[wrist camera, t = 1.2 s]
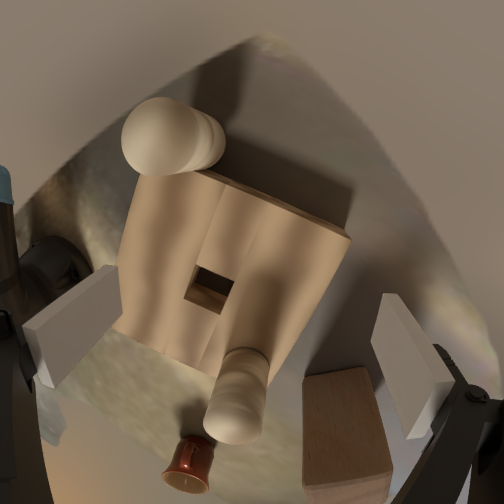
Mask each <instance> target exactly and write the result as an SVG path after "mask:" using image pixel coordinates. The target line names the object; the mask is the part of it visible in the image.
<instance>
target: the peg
mask: <svg viewBox="0 0 504 504" xmlns="http://www.w3.org/2000/svg"><path fill="white" fill-rule="evenodd" d="M121 143H122V150H123V153H124V156H125V158H126V160H127V161H128V163H129V164H130V165H131V167H132V168H134V169H135V170H136V171H137V172H139V173H141V174H143V175H146V176H150V177H161V176H166V175H172V174H177V173H182V172H188V171H194V170H202V169H206V168H209V167H211V166H213V165H214V164H215V163H216V162H218V161H219V159H220V158H221V157H222V155H223V153H224V151H225V148H226V133H225V130H224V128H223V126H222V125H221V123H220V122H219V121H218V120H217V119H215V118H214V117H212V116H210V115H207V114H205V113H203V112H200V111H198V110H196V109H194V108H192V107H190V106H187V105H185V104H183V103H181V102H179V101H176V100H174V99H171V98H167V97H156V98H152V99H149V100H146V101H144V102H142V103H141V104H139V105H138V106H137V107H136V108H135V109H134V110H133V111H132V112H131V113H130V115H129V116H128V118H127V120H126V122H125V124H124V127H123V130H122V137H121Z"/></svg>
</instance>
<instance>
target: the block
mask: <svg viewBox="0 0 504 504" xmlns="http://www.w3.org/2000/svg"><path fill="white" fill-rule="evenodd" d="M302 401H303V465H302V485H303V489H304V492H305V496H306V499H307V502H308V504H382V503H385V502H386V500H387V497H388V493H389V488H390V483H391V478H392V473H393V464H392V460H391V456H390V451H389V447H388V443H387V439H386V435H385V431H384V427H383V423H382V419H381V416H380V412H379V408H378V405H377V401H376V397H375V394H374V390H373V387H372V383H371V380H370V377H369V373H368V371H367V369H366V368H365V367H356V368H351V369H346V370H341V371H335V372H330V373H324V374H318V375H312V376H307V377H305V378H304V380H303V383H302Z"/></svg>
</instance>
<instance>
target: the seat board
mask: <svg viewBox="0 0 504 504" xmlns="http://www.w3.org/2000/svg"><path fill="white" fill-rule="evenodd" d="M351 242H352V240H351V239H350V237H349V236H348V234H347V233H346V232H345V230H344V229H342V228H340V227H338V226H335V225H333V224H331V223H329V222H327V221H325V220H323V219H321V218H318V217H316V216H314V215H312V214H310V213H308V212H305V211H303V210H301V209H299V208H297V207H294V206H292V205H290V204H288V203H285V202H283V201H281V200H279V199H276V198H274V197H272V196H269V195H267V194H265V193H263V192H260V191H258V190H256V189H253V188H251V187H248V186H246V185H244V184H241V183H239V182H237V181H234V180H232V179H229V178H227V177H224V176H222V175H220V174H217V173H215V172H212V171H210V170H207V169H202V170H194V171H188V172H182V173H177V174H172V175H166V176H161V177H150V176H146V175H143V174H141V173H140V176H139V180H138V183H137V186H136V189H135V193H134V196H133V199H132V203H131V206H130V210H129V213H128V217H127V221H126V224H125V228H124V232H123V236H122V240H121V244H120V248H119V252H118V257H117V261H116V265H115V266H118V274H119V284H120V294H121V302H122V310H123V314H122V315H121V316H120V317H119V318H118V320H117V321H116V322H115V323H114V324H113V325H112V326H111V328H113V329H115V330H117V331H118V332H120V333H122V334H124V335H126V336H128V337H130V338H132V339H134V340H135V341H137V342H139V343H141V344H143V345H145V346H147V347H149V348H151V349H153V350H155V351H158V352H160V353H162V354H164V355H166V356H168V357H170V358H172V359H174V360H177V361H179V362H181V363H183V364H185V365H188V366H190V367H192V368H195V369H197V370H199V371H201V372H204V373H206V374H209V375H211V376H213V377H216V378H217V380H216V383H215V387H214V390H213V393H212V396H211V399H210V402H209V405H208V408H207V411H206V414H205V417H204V420H203V426H204V429H205V430H206V432H207V433H208V434H209V435H210V436H211V437H213V438H214V439H216V440H218V441H220V442H223V443H226V444H232V445H245V444H249V443H252V442H254V441H256V440H257V439H258V438H259V437H260V435H261V431H262V423H263V416H264V408H265V400H266V392H267V387H268V385H269V384H270V382H271V381H272V379H273V378H274V376H275V374H276V373H277V371H278V370H279V368H280V367H281V365H282V363H283V362H284V360H285V359H286V357H287V355H288V354H289V352H290V350H291V349H292V347H293V346H294V344H295V342H296V341H297V339H298V337H299V336H300V334H301V332H302V331H303V329H304V327H305V325H306V324H307V322H308V320H309V319H310V317H311V315H312V313H313V312H314V310H315V308H316V306H317V305H318V303H319V301H320V299H321V298H322V296H323V294H324V292H325V290H326V289H327V287H328V285H329V283H330V281H331V279H332V278H333V276H334V274H335V272H336V270H337V268H338V266H339V265H340V263H341V261H342V259H343V257H344V255H345V253H346V251H347V249H348V247H349V245H350V243H351ZM200 267H203V268H205V269H207V270H210V271H212V272H214V273H216V274H219V275H221V276H223V277H226V278H228V279H230V280H232V281H235V282H234V284H233V287H232V289H231V291H230V293H229V296H228V297H227V296H224V295H222V294H220V293H218V292H215V291H213V290H211V289H208V288H206V287H204V286H202V285H200V284H197V283H195V281H196V278H197V275H198V273H199V270H200Z"/></svg>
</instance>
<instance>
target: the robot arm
mask: <svg viewBox="0 0 504 504" xmlns="http://www.w3.org/2000/svg"><path fill="white" fill-rule="evenodd" d="M13 205H14V201H13V199H12V189H11V178H10V174H9V172H8V170H7V169H6V168H5V167H4V166H1V165H0V504H54V501H53V498H52V494H51V490H50V486H49V481H48V477H47V472H46V468H45V463H44V457H43V452H42V445H41V439H40V431H39V423H38V414H37V404H36V390H35V382H34V379H33V376H34V375H35V374H36V373H38V375H39V378H40V380H41V383H42V384H44V385H47V386H49V387H51V388H54V389H56V387H57V386H58V385H59V384H60V383H61V382H62V380H63V379H64V378H65V377H66V376H67V375H68V374H69V372H70V371H71V370H72V369H73V368H74V367H75V366H76V365H77V363H78V362H79V361H80V360H81V359H82V358H83V357H84V356H85V354H86V353H87V352H88V351H89V350H90V349H91V348H92V347H93V346H94V344H95V343H96V342H97V341H98V340H99V339H100V338H101V337H102V336H103V335H104V334H105V332H106V331H107V330H108V329H109V328H110V327H111V326H112V325H113V324H114V323H115V322H116V321H117V320H118V318H119V317H120V316H121V315H122V314H123V310H122V302H121V294H120V284H119V274H118V266H112V265H104V266H103V267H101V268H100V269H98V270H97V271H96V272H94V273H93V274H92V272H91V270H90V268H89V265H88V264H87V262H86V260H85V258H84V257H83V255H82V254H81V253H80V252H79V250H78V249H77V248H76V247H75V246H74V245H72V244H71V243H70V242H69V241H67V240H65V239H63V238H61V237H57V236H48V237H45V238H42V239H40V240H38V241H36V242H34V243H33V244H32V245H31V246H30V247H29V248H28V249H27V251H26V252H25V253H24V254H23V255H22V256H21V257H20V258H19V257H18V250H17V243H16V235H15V225H14V214H13ZM370 342H371V344H372V347H373V349H374V352H375V354H376V357H377V359H378V362H379V365H380V367H381V370H382V373H383V375H384V378H385V381H386V383H387V386H388V389H389V392H390V394H391V397H392V400H393V403H394V406H395V409H396V412H397V414H398V417H399V420H400V423H401V426H402V429H403V432H404V436H405V439H413V438H421V437H424V436H425V434H426V433H427V431H428V429H429V428H430V426H431V429H432V431H433V433H434V434H433V436H432V437H431V439H430V440H429V442H428V443H427V445H426V446H425V448H424V449H423V450H422V455H421V457H420V458H419V460H418V462H417V464H416V465H415V467H414V469H413V470H412V472H411V474H410V475H409V477H408V478H407V480H406V481H405V483H404V485H403V486H402V488H401V489H400V491H399V492H398V494H397V495H396V497H395V498H394V499H393V501H392V502H391V504H455V503H456V501H457V499H458V497H459V495H460V492H461V490H462V488H463V485H464V483H465V480H466V478H467V475H468V473H469V470H470V467H471V465H472V469H471V479H470V488H469V495H468V502H467V504H504V399H503V400H495V399H490V397H489V395H488V393H487V392H486V391H485V390H484V389H482V388H480V387H479V386H476V385H472V384H471V385H469V384H468V383H467V381H466V380H465V378H464V377H463V375H462V374H461V372H460V370H459V369H458V367H457V366H455V363H454V361H453V360H451V357H450V355H449V354H448V353H447V351H446V350H445V349H443V348H442V347H441V346H440V345H438V344H432V343H431V342H430V340H429V339H428V337H427V336H426V334H425V333H424V331H423V330H422V328H421V327H420V325H419V324H418V322H417V321H416V320H415V318H414V317H413V315H412V314H411V312H410V311H409V310H408V308H407V307H406V305H405V304H404V303H403V301H402V300H401V298H400V297H399V296H398V294H392V293H383V295H382V300H381V304H380V308H379V312H378V315H377V319H376V323H375V327H374V330H373V334H372V337H371V341H370Z"/></svg>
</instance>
